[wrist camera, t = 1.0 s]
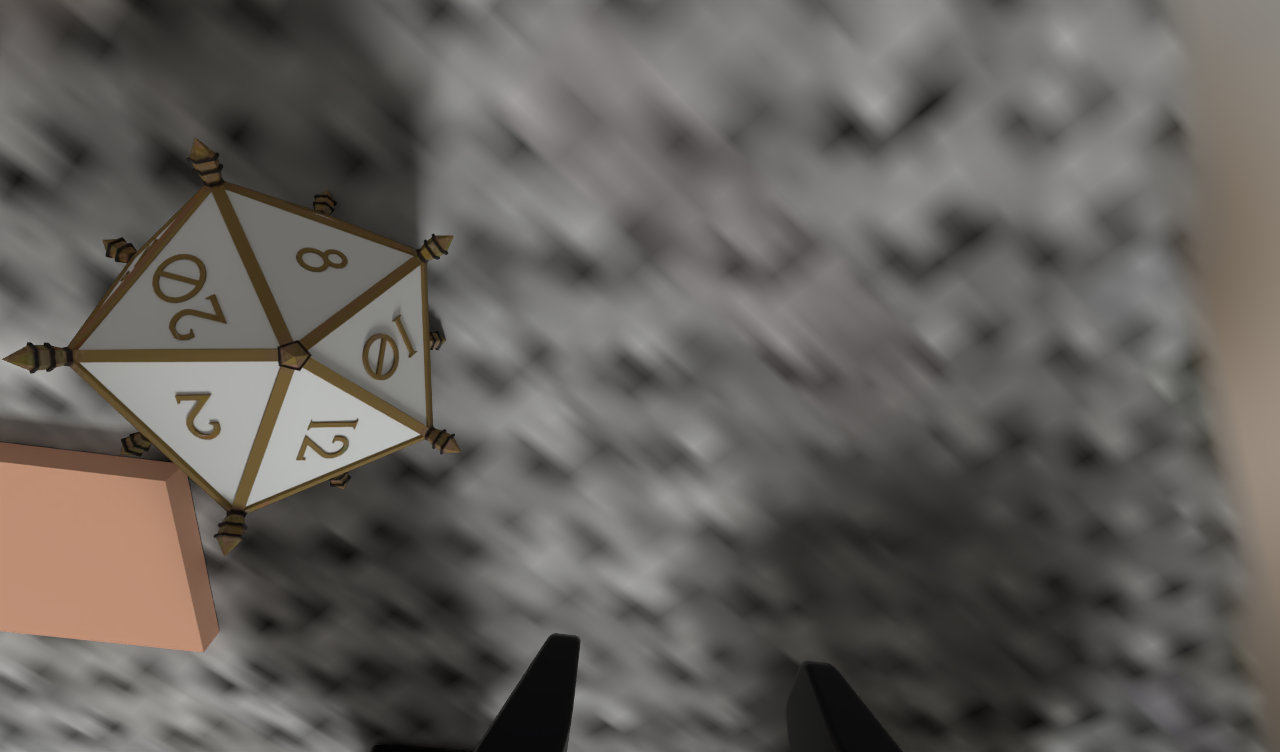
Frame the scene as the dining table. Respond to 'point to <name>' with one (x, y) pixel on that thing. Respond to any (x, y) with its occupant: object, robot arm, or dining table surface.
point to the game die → (261, 345)
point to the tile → (101, 550)
